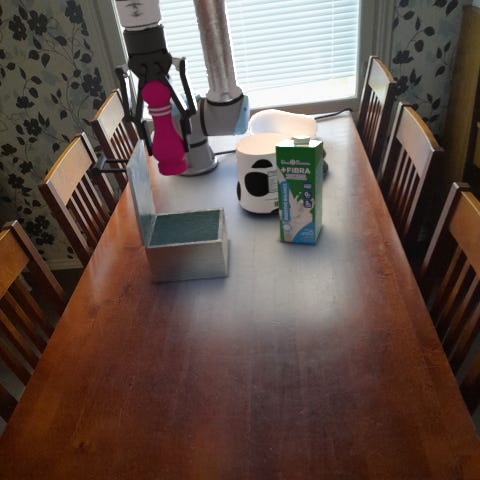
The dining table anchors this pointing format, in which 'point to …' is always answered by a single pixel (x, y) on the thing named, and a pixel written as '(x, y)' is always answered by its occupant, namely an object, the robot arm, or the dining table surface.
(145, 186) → the box lid
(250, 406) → the dining table surface
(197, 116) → the robot arm
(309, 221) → the milk carton
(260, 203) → the milk container
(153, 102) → the pepper mill
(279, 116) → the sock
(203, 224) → the metal tin
